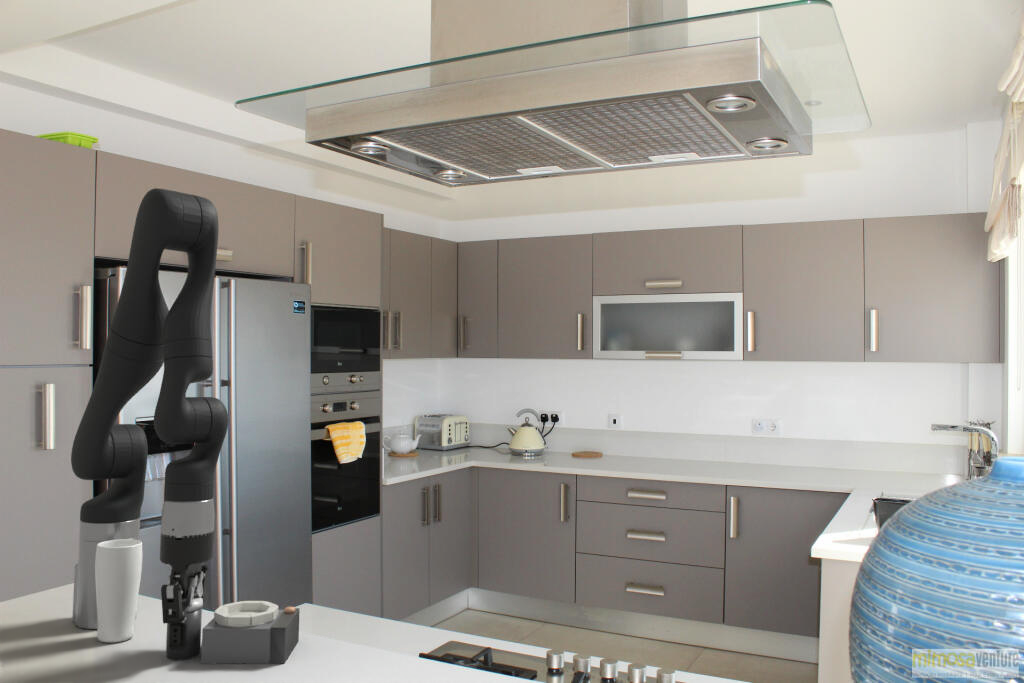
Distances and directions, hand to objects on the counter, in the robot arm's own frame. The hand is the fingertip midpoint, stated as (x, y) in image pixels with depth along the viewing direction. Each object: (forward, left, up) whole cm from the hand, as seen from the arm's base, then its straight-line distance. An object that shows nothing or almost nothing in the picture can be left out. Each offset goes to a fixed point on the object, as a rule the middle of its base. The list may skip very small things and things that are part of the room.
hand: (183, 642), depth 122 cm
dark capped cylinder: (0, 0, -2) cm, 2 cm away
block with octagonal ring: (+8, +6, -2) cm, 10 cm away
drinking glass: (-15, 0, -2) cm, 15 cm away
